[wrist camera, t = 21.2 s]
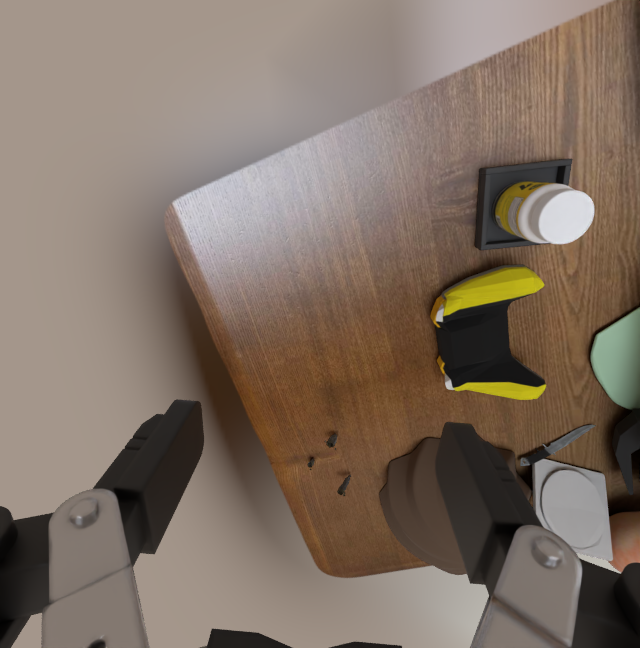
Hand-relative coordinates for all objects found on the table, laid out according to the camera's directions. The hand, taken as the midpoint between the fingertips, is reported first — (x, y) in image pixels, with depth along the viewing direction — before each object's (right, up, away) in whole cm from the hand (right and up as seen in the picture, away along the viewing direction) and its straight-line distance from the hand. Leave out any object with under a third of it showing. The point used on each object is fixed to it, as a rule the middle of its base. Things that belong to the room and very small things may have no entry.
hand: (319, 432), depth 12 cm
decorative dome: (+18, -19, +38) cm, 47 cm away
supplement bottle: (+19, +15, +23) cm, 33 cm away
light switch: (+33, -15, +37) cm, 52 cm away
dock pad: (+19, +15, +23) cm, 34 cm away
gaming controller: (+18, +3, +29) cm, 34 cm away
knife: (+29, -11, +35) cm, 47 cm away
